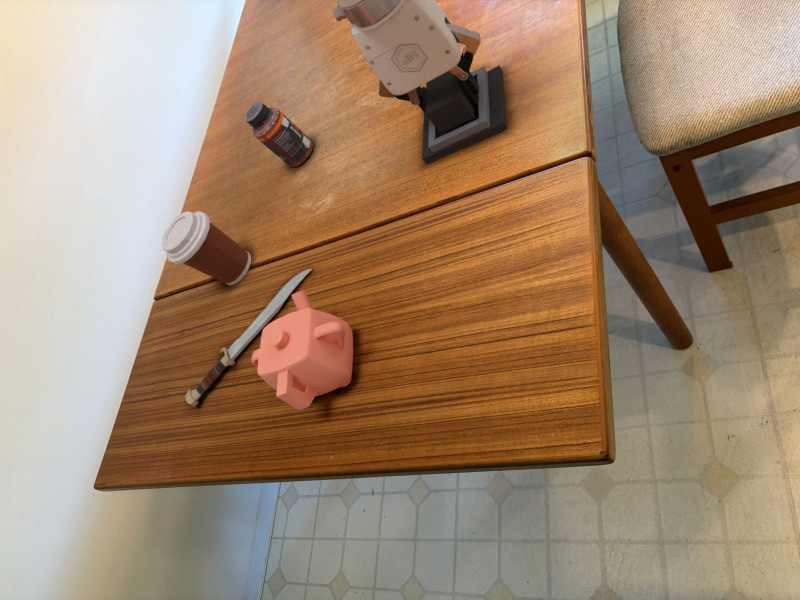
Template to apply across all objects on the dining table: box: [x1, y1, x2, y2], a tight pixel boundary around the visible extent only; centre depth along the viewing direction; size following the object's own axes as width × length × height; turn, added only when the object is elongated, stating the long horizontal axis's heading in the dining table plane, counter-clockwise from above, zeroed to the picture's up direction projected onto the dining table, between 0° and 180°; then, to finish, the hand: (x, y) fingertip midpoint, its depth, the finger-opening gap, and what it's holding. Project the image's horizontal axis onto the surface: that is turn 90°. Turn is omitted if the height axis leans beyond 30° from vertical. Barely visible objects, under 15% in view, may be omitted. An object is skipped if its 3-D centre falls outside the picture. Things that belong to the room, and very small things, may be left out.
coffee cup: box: [161, 210, 252, 286], centre depth 89 cm, size 9×9×12 cm
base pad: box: [421, 65, 508, 165], centre depth 75 cm, size 12×11×2 cm
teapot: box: [251, 289, 354, 411], centre depth 66 cm, size 12×12×10 cm
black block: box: [425, 71, 474, 134], centre depth 73 cm, size 5×7×4 cm
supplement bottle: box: [244, 101, 314, 168], centre depth 93 cm, size 6×6×11 cm
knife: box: [185, 268, 313, 407], centre depth 82 cm, size 27×2×5 cm
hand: (455, 105), depth 74 cm, fingers closed on black block, 4 cm apart
